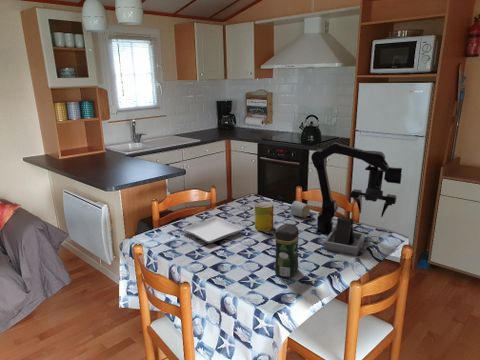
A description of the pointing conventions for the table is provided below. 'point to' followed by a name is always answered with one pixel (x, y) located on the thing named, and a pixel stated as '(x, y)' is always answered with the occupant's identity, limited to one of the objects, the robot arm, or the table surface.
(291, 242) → the coffee jar
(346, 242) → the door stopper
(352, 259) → the table surface
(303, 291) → the table surface
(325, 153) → the robot arm
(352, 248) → the box
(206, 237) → the salad plate
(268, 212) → the yellow green jar
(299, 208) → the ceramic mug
